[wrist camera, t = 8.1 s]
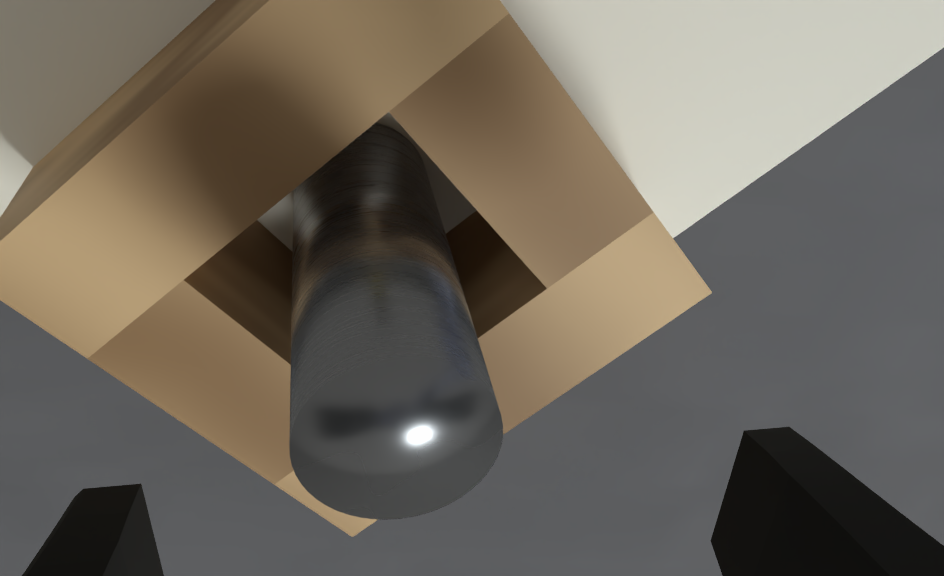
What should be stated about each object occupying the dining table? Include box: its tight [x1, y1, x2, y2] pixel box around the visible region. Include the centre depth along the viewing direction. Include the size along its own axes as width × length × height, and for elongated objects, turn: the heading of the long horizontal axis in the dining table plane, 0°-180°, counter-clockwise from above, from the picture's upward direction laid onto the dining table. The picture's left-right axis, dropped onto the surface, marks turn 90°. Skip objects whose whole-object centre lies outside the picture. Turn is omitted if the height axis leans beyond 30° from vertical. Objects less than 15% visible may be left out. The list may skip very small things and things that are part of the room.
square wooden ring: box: [0, 0, 712, 537], centre depth 16 cm, size 9×9×4 cm
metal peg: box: [289, 123, 503, 520], centre depth 14 cm, size 3×3×8 cm
